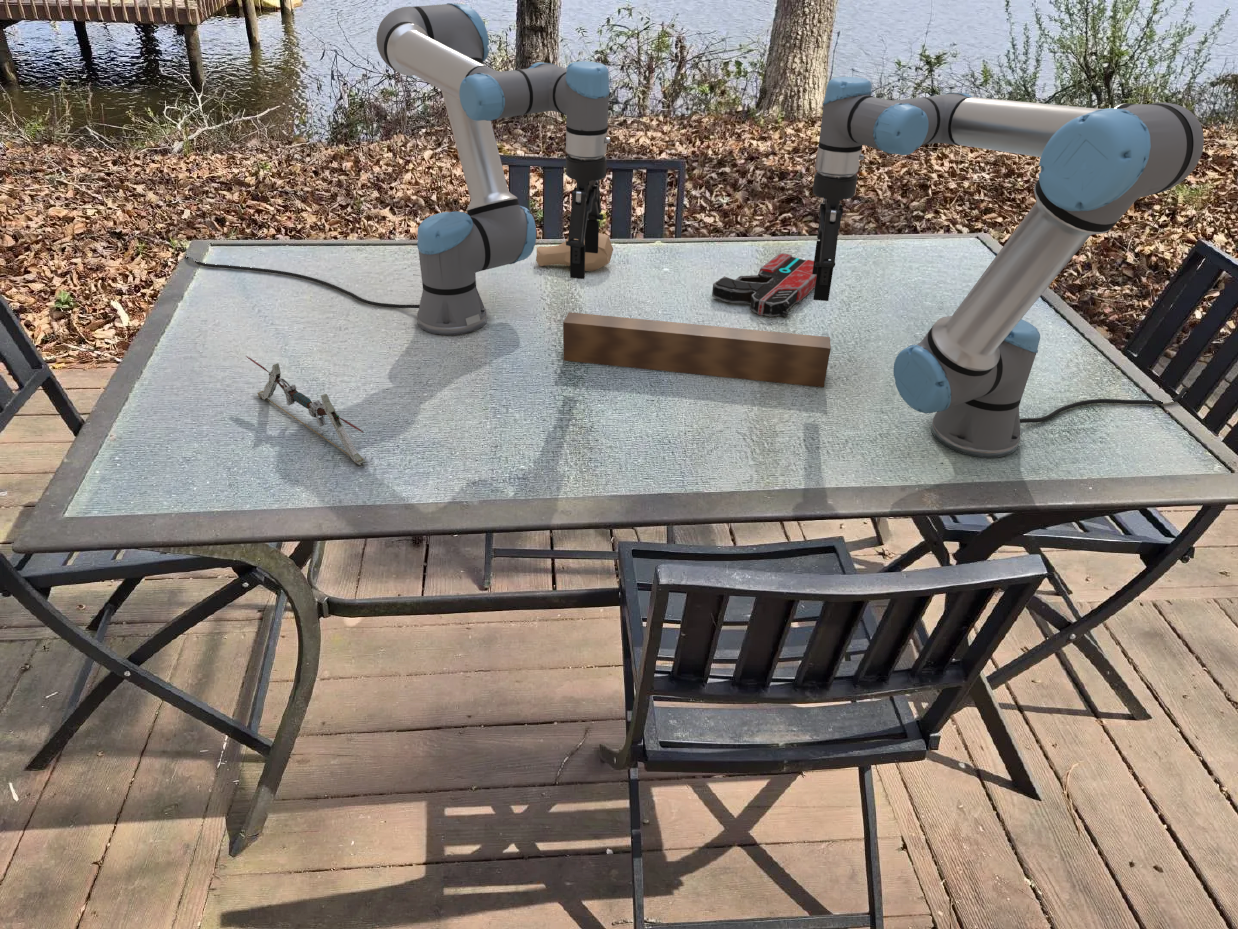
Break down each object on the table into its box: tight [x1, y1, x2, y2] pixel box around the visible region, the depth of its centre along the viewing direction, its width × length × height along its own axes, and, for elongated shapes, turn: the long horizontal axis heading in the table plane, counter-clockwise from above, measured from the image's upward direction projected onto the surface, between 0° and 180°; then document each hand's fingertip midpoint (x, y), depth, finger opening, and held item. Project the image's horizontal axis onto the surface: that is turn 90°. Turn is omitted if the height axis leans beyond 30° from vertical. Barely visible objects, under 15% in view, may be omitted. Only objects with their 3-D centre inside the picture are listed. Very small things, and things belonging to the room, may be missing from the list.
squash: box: [535, 232, 614, 272], centre depth 224 cm, size 11×20×9 cm, turn 90°
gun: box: [711, 252, 817, 318], centre depth 215 cm, size 4×31×19 cm
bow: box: [245, 355, 367, 466], centre depth 155 cm, size 39×2×10 cm, turn 47°
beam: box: [562, 311, 832, 388], centre depth 179 cm, size 54×5×9 cm, turn 80°
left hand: (584, 264), depth 173 cm, fingers open, 13 cm apart
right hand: (820, 286), depth 167 cm, fingers open, 13 cm apart
